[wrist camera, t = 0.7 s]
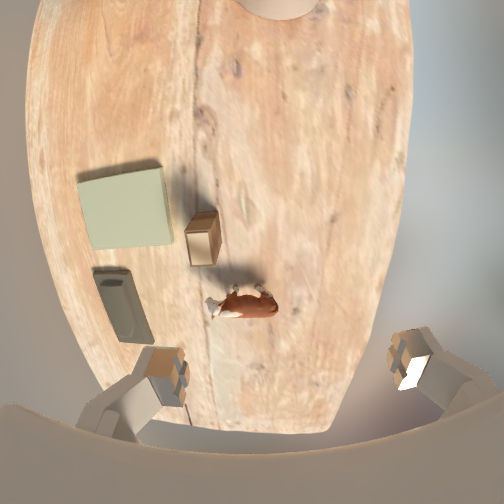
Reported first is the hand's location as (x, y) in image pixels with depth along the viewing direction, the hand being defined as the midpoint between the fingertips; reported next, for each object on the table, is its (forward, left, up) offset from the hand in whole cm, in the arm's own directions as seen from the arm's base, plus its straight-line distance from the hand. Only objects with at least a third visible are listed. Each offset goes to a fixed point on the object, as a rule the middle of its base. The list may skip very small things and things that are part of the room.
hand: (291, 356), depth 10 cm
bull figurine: (+23, -6, -40) cm, 47 cm away
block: (+9, -11, -40) cm, 42 cm away
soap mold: (+27, -34, -41) cm, 59 cm away
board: (+4, -27, -40) cm, 48 cm away
